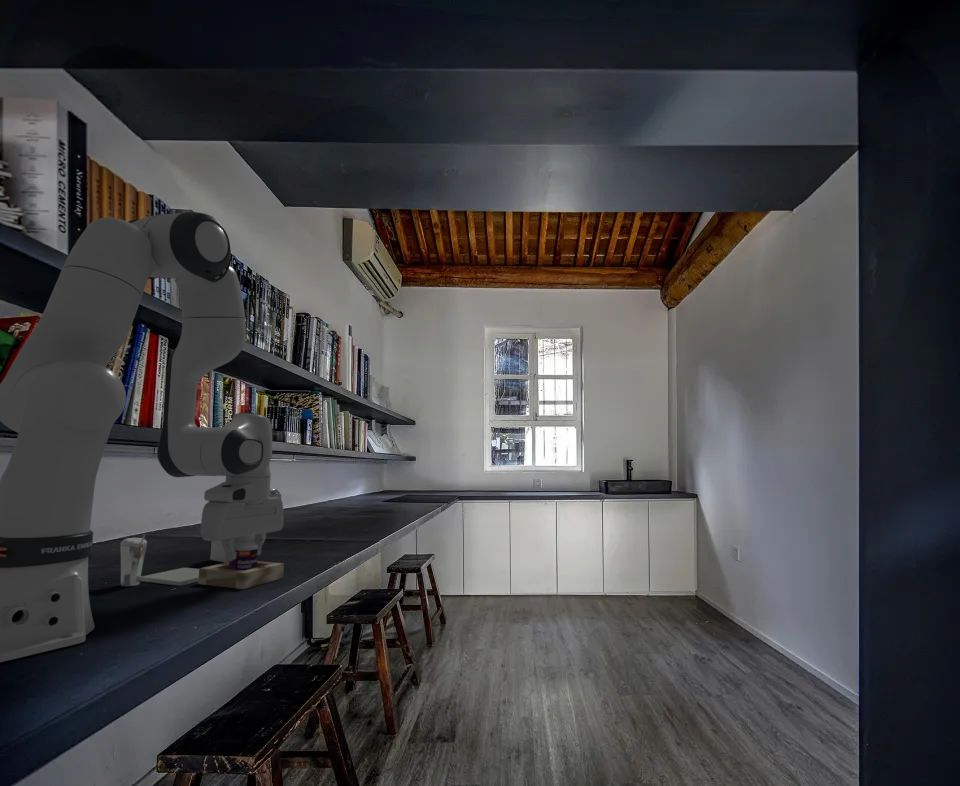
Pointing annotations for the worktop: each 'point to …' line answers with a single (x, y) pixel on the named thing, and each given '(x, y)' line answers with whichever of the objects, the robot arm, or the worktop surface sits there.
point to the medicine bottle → (218, 551)
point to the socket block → (240, 575)
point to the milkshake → (132, 560)
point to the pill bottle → (245, 553)
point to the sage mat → (174, 577)
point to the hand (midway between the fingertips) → (243, 557)
